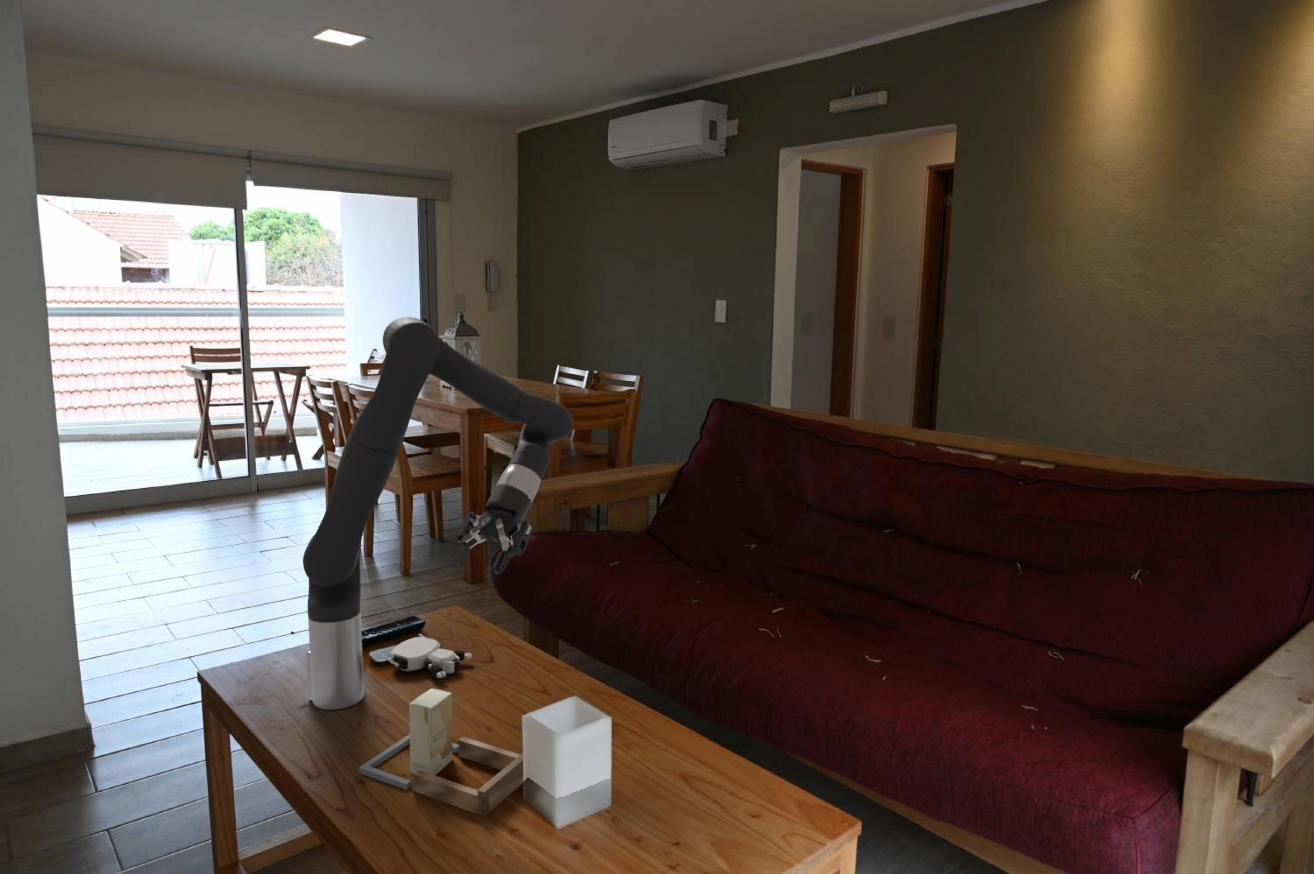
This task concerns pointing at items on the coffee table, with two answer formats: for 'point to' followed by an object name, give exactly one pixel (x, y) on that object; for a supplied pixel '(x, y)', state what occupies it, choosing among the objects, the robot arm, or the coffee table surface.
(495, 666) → the coffee table surface
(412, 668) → the robot toy
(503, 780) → the frame
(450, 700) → the skincare box
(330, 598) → the robot arm
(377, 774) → the bracket
